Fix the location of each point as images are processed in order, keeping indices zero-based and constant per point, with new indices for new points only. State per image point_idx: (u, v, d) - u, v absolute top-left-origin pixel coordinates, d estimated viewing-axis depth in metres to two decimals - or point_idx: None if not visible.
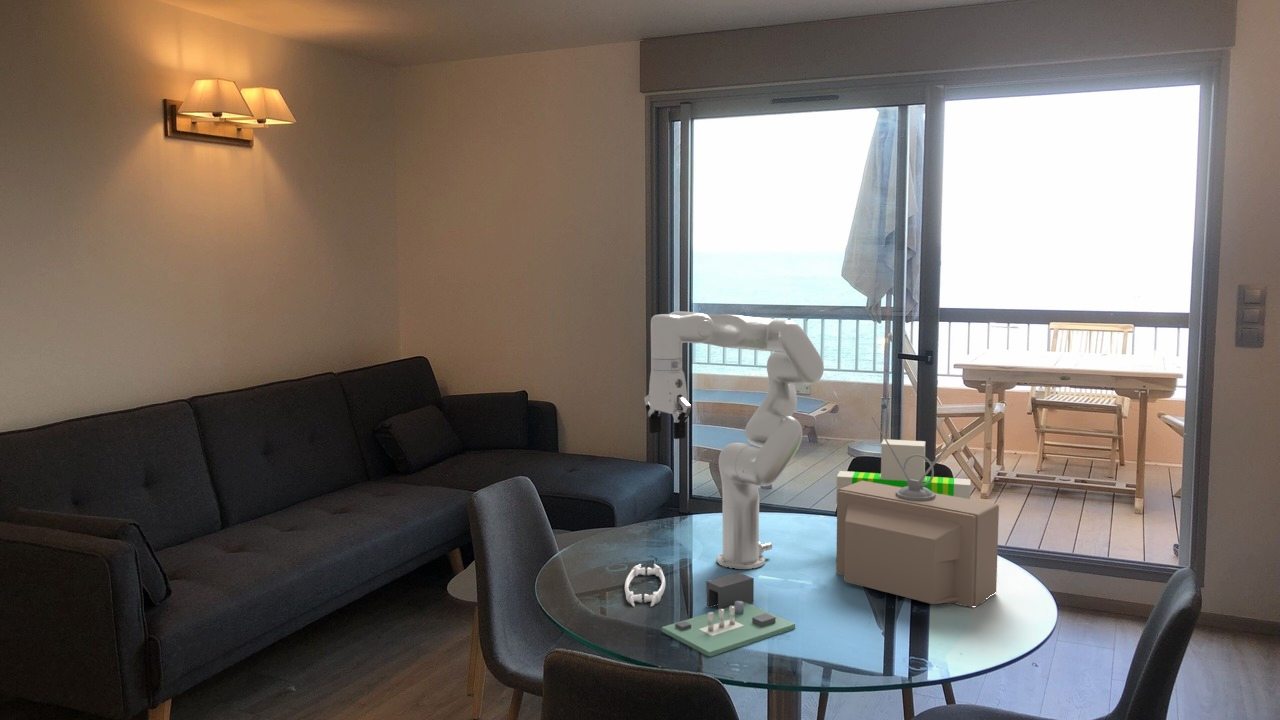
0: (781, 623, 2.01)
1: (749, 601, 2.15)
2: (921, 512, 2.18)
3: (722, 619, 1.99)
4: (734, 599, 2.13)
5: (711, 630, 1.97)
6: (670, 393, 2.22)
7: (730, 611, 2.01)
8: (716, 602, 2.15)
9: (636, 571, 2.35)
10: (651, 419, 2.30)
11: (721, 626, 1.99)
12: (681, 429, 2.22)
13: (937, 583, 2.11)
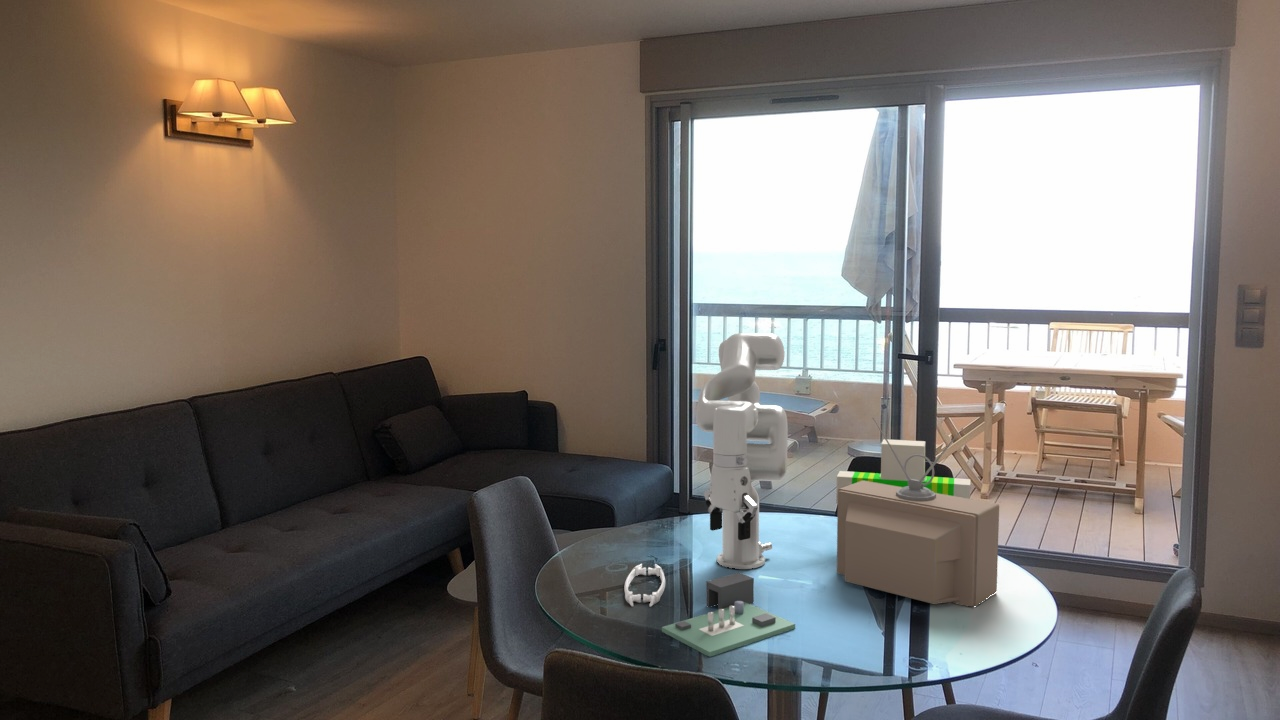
0: (781, 623, 2.01)
1: (749, 601, 2.15)
2: (922, 512, 2.18)
3: (722, 619, 1.99)
4: (734, 599, 2.13)
5: (711, 630, 1.97)
6: (735, 491, 2.08)
7: (730, 611, 2.01)
8: (716, 602, 2.15)
9: (637, 571, 2.36)
10: (712, 516, 2.16)
11: (721, 626, 1.99)
12: (746, 530, 2.08)
13: (937, 583, 2.11)
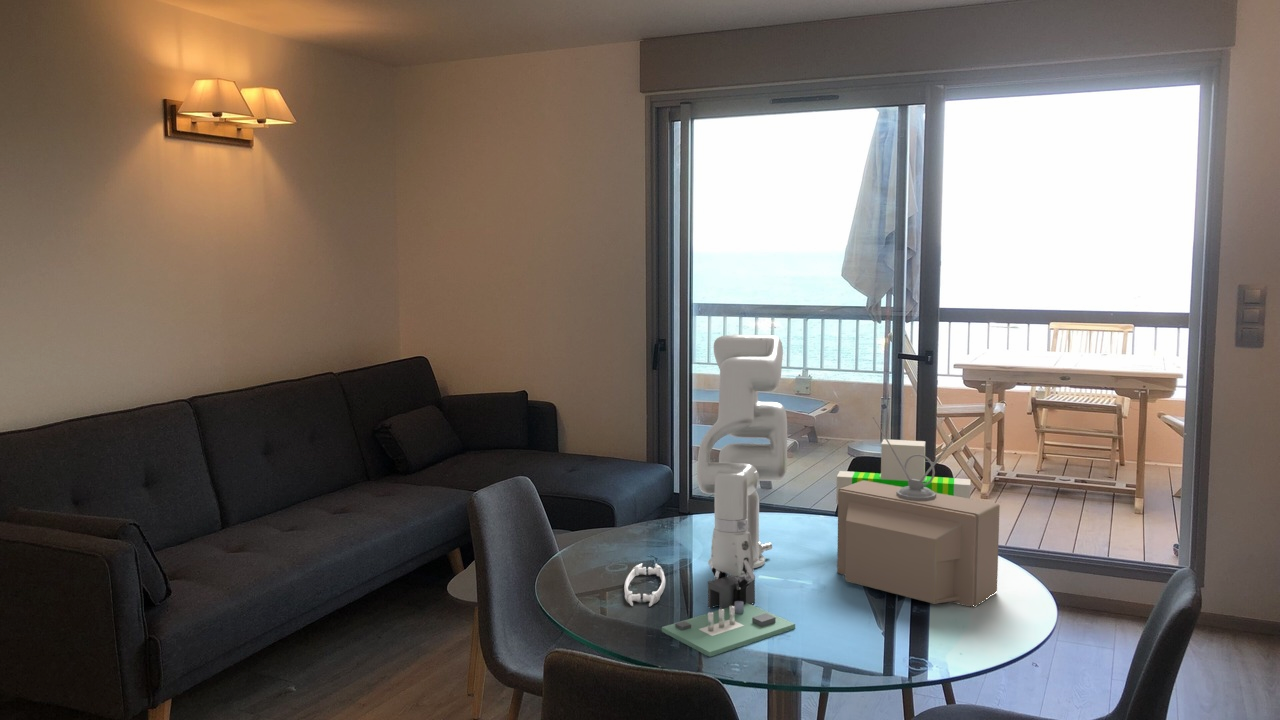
0: (781, 623, 2.01)
1: (750, 601, 2.15)
2: (922, 512, 2.18)
3: (722, 619, 1.99)
4: None
5: (711, 630, 1.97)
6: (736, 556, 2.09)
7: (730, 611, 2.01)
8: (717, 602, 2.15)
9: (637, 571, 2.36)
10: None
11: (721, 626, 1.99)
12: (742, 596, 2.11)
13: (937, 583, 2.11)
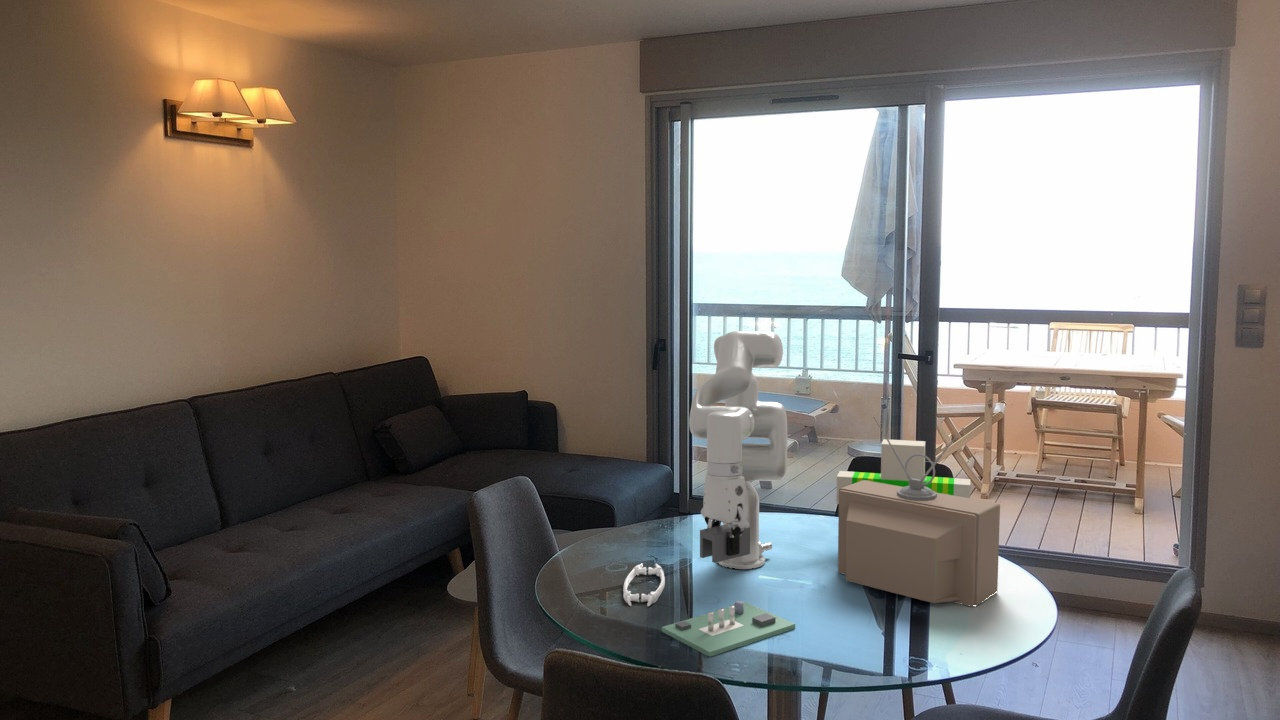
0: (781, 623, 2.01)
1: (745, 551, 2.03)
2: (922, 511, 2.18)
3: (722, 619, 1.99)
4: None
5: (711, 630, 1.97)
6: (729, 502, 1.97)
7: (730, 611, 2.01)
8: (710, 552, 2.03)
9: (637, 571, 2.36)
10: None
11: (721, 626, 1.99)
12: (735, 545, 1.99)
13: (938, 582, 2.11)
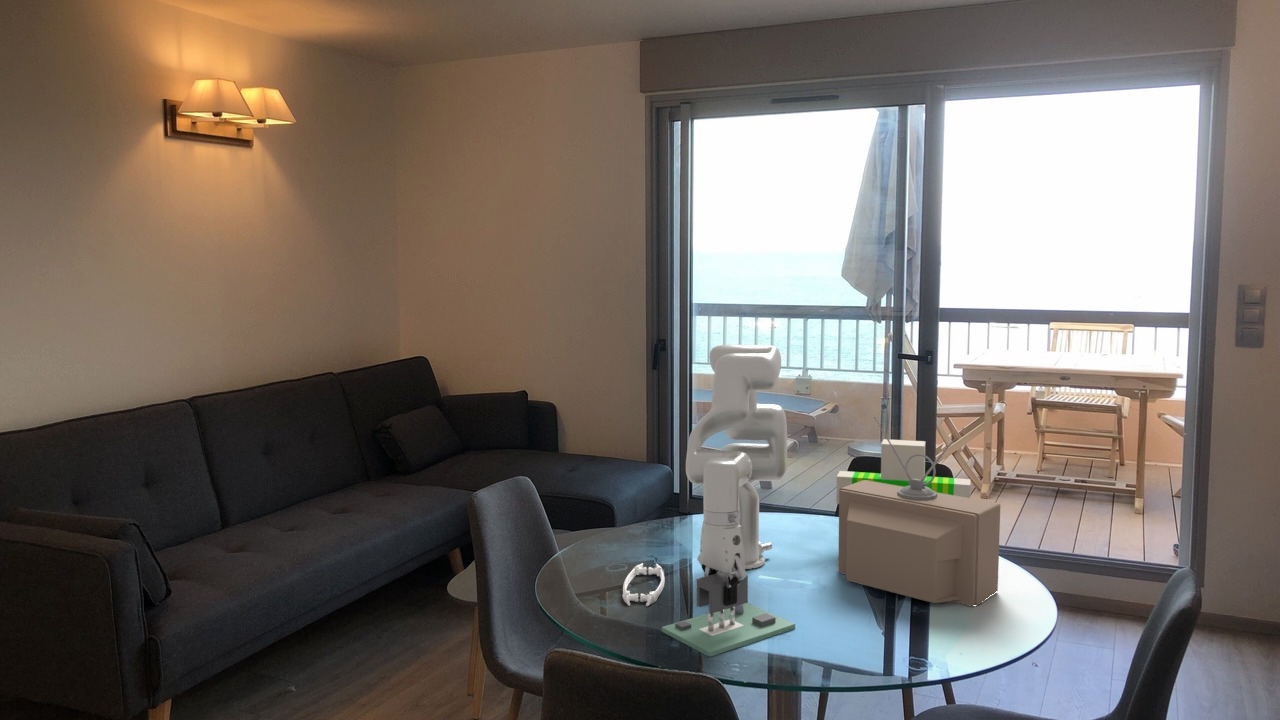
0: (781, 623, 2.01)
1: (743, 600, 1.99)
2: (923, 511, 2.18)
3: (722, 619, 1.99)
4: None
5: (711, 630, 1.97)
6: (726, 552, 1.93)
7: (730, 611, 2.01)
8: (707, 601, 1.99)
9: (637, 570, 2.36)
10: None
11: (721, 626, 1.99)
12: (732, 595, 1.95)
13: (938, 582, 2.11)
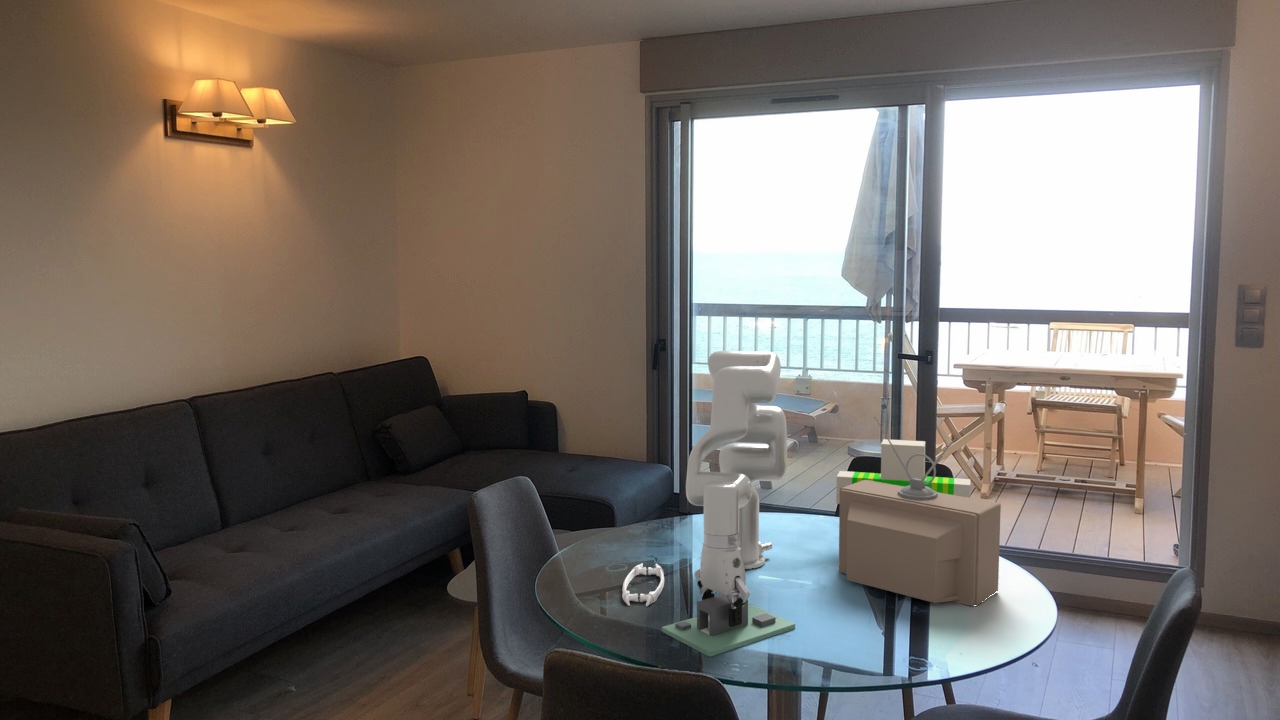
0: (781, 623, 2.01)
1: (743, 623, 2.00)
2: (923, 511, 2.18)
3: None
4: (727, 621, 1.97)
5: None
6: (726, 574, 1.93)
7: None
8: (707, 624, 1.99)
9: (637, 571, 2.36)
10: None
11: None
12: (737, 616, 1.95)
13: (938, 582, 2.12)
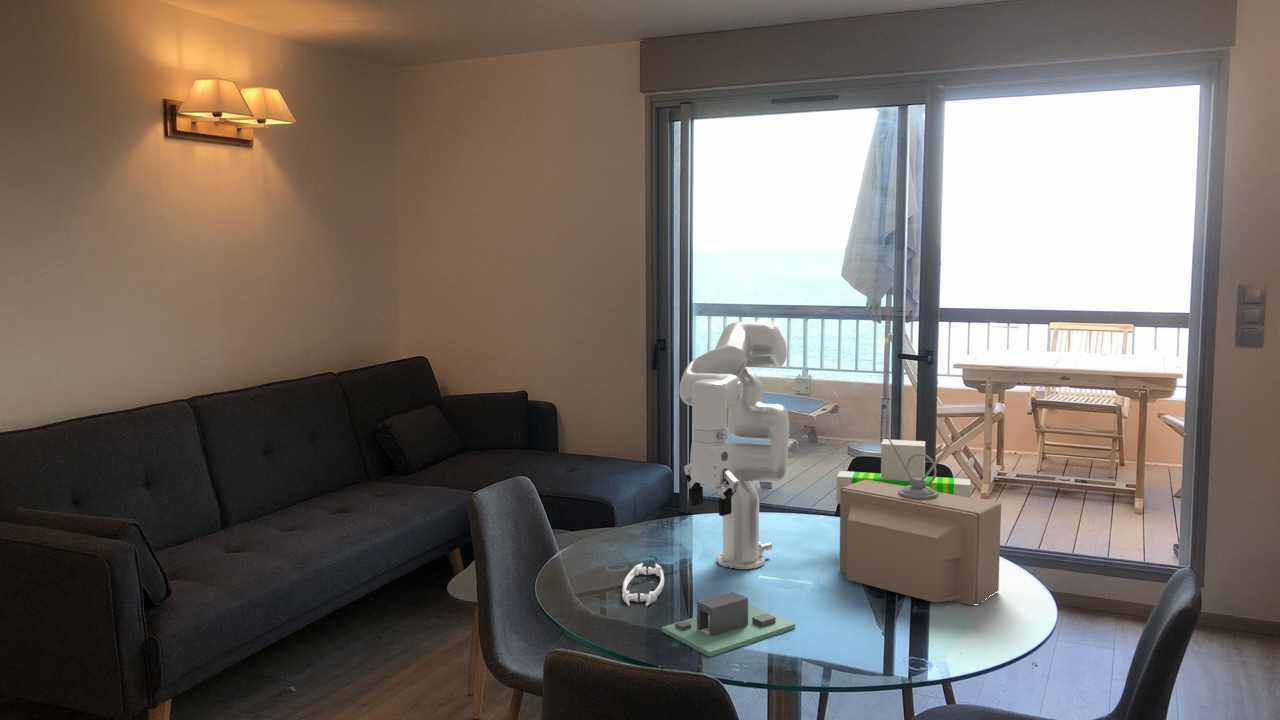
0: (781, 623, 2.01)
1: (743, 623, 2.00)
2: (923, 511, 2.19)
3: None
4: (727, 621, 1.97)
5: None
6: (715, 467, 2.04)
7: None
8: (707, 624, 1.99)
9: (637, 570, 2.36)
10: (692, 491, 2.12)
11: None
12: (727, 505, 2.05)
13: (938, 582, 2.12)
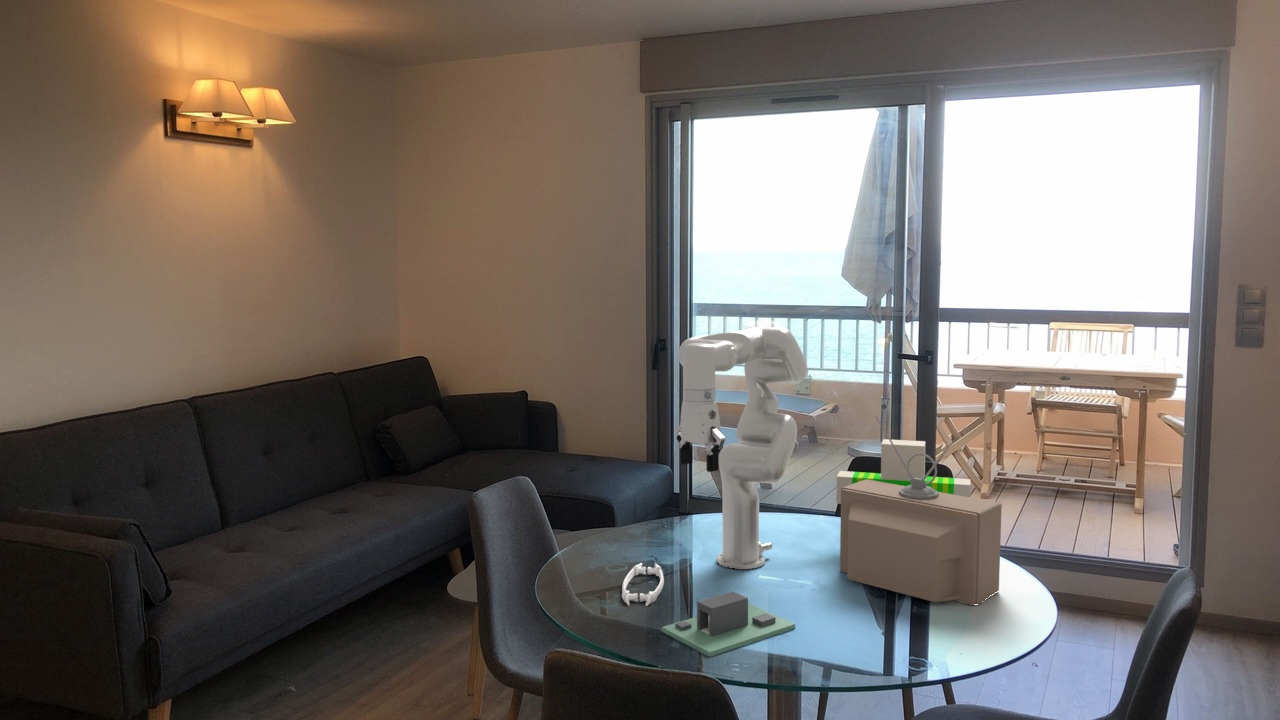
0: (781, 623, 2.01)
1: (743, 623, 2.00)
2: (924, 510, 2.19)
3: None
4: (727, 621, 1.97)
5: None
6: (703, 425, 2.15)
7: None
8: (707, 624, 1.99)
9: (636, 570, 2.36)
10: (682, 450, 2.23)
11: None
12: (714, 462, 2.16)
13: (939, 581, 2.12)
